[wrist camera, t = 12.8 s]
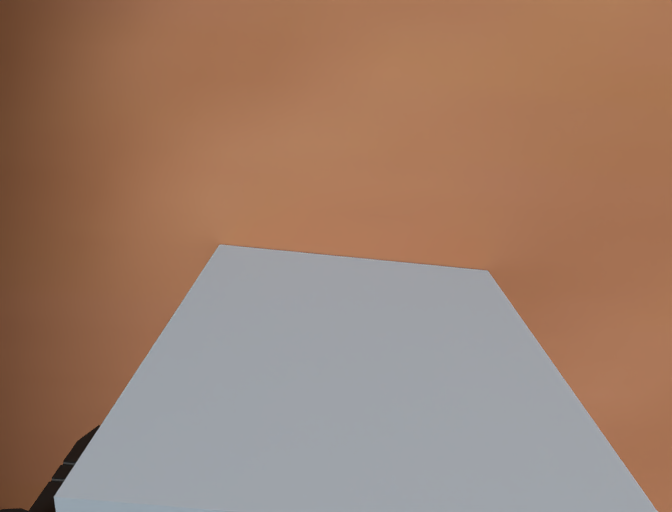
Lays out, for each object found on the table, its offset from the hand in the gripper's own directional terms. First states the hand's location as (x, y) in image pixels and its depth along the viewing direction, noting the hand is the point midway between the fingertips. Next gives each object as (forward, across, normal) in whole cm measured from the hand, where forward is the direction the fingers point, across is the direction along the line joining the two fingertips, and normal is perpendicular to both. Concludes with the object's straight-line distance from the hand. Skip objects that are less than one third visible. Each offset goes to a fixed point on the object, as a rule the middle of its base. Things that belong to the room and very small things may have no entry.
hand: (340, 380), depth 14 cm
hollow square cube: (0, 0, -2) cm, 2 cm away
